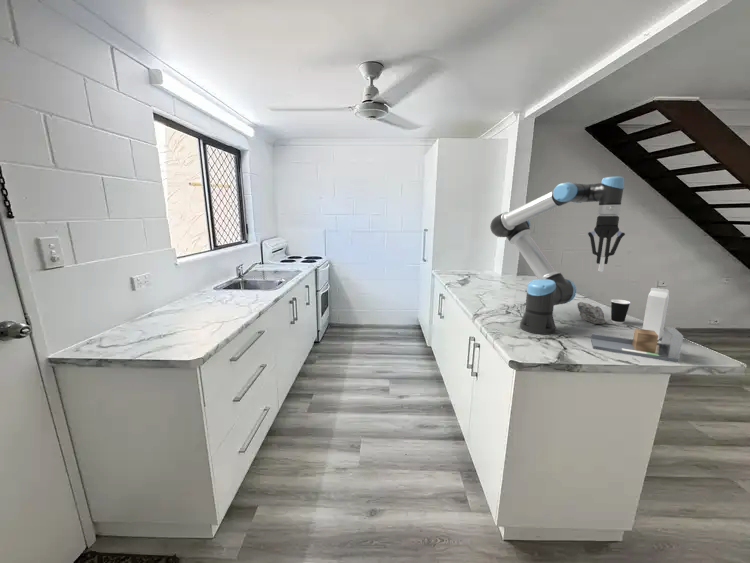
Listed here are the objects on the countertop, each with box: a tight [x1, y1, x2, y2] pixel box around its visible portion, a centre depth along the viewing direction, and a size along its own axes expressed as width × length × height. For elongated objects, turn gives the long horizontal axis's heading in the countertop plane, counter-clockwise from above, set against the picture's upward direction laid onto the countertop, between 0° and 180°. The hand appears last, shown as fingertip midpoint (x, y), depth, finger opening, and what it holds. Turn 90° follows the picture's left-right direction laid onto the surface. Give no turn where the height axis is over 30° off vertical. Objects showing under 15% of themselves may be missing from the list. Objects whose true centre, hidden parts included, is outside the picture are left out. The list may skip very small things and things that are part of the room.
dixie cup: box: [610, 298, 632, 325], centre depth 159 cm, size 8×8×11 cm
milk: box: [642, 287, 670, 341], centre depth 138 cm, size 6×6×22 cm
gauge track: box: [590, 333, 680, 363], centre depth 126 cm, size 26×10×3 cm, turn 61°
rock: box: [576, 301, 607, 325], centre depth 162 cm, size 16×8×10 cm, turn 175°
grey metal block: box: [660, 325, 684, 360], centre depth 120 cm, size 3×10×9 cm, turn 151°
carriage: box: [632, 327, 659, 354], centre depth 123 cm, size 7×7×7 cm
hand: (600, 271), depth 137 cm, fingers closed
